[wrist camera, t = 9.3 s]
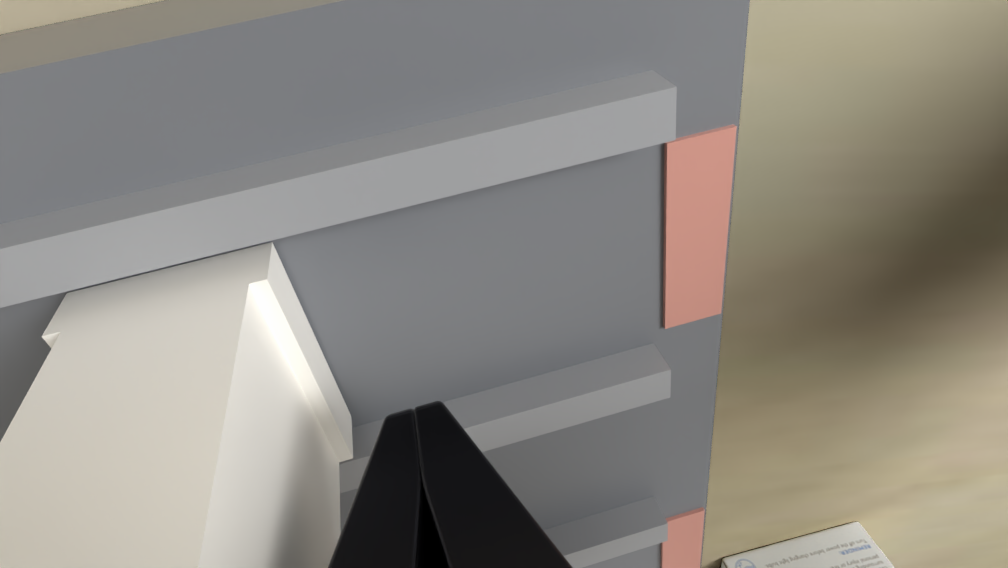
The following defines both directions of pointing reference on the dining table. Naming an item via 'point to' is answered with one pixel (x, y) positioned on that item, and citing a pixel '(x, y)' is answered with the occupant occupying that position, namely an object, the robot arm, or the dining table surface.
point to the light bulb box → (816, 551)
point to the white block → (178, 427)
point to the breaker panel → (417, 218)
